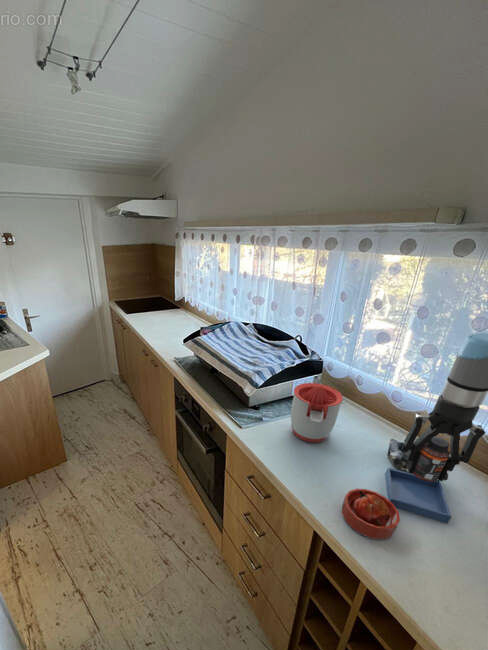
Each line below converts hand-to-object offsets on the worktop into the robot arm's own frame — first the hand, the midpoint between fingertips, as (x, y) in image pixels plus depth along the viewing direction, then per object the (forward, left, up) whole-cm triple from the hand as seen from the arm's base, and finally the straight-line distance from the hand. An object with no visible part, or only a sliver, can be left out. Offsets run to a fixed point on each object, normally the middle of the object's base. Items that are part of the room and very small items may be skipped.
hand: (424, 473), depth 82 cm
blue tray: (0, 0, -9) cm, 9 cm away
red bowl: (+12, +14, -9) cm, 20 cm away
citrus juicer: (+30, -17, -9) cm, 36 cm away
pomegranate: (+12, +14, -8) cm, 20 cm away
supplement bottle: (0, 0, -1) cm, 1 cm away
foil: (-1, -13, -9) cm, 16 cm away
